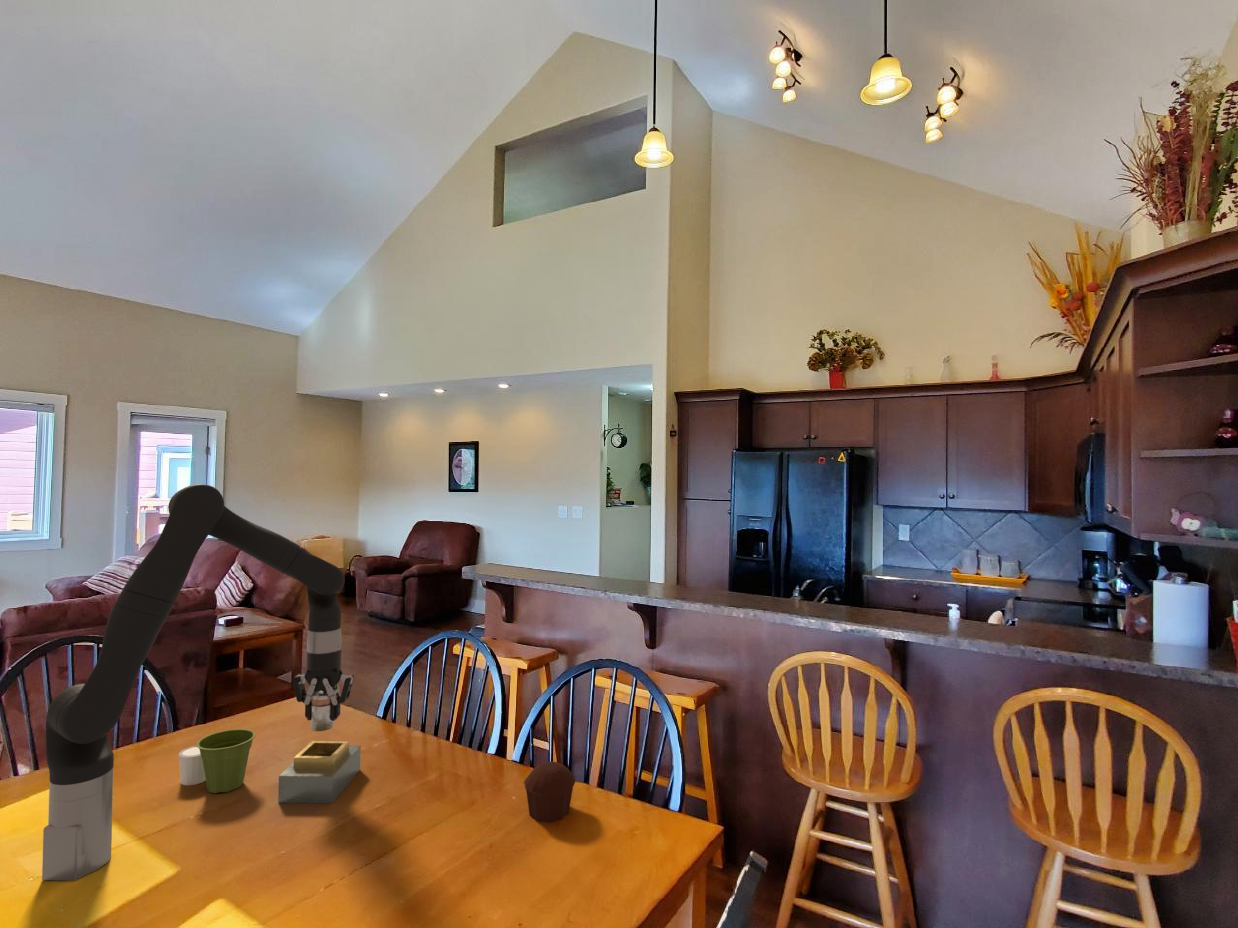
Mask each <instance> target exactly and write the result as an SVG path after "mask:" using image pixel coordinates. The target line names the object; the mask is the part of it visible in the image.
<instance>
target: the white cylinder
mask: <svg viewBox="0 0 1238 928" xmlns="http://www.w3.org/2000/svg"><path fill="white" fill-rule="evenodd" d="M178 760H179V761H178V762H179V763H178V764H179V772H180V773H179V774H180V784H181V785H182V786H194V785H199V784H201V783H204V782H206V778H205V772H204V766H203V760H202V757H201V754H200V749H199V748H198V747H197V745H192V746H190V747H189V746H188V747H186V748H184V749H182V750H180V752H179V753H178Z"/></svg>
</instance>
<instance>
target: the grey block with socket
mask: <svg viewBox="0 0 1238 928" xmlns="http://www.w3.org/2000/svg"><path fill="white" fill-rule="evenodd" d="M361 747H362V746H361V745H352V744H351V745H350V741H343V740H342V741H341V740H339V741H336V740H335V741H334V740H312V741H310V742H309V743H308V744H307V745H306V746H305V747H304V748H302V749H301V750H300V751H299V752H298V753H297V754H296V755H295V756H294V757H293V762H292V763H291V764H290V765H289V766H288V767H287V768H286V769H285V770H283V772H281V773H280V774H279V775H278V790H277V791H278V799H277V800H278V802H277V803H280V804H333V803H334V802H335V800H336V799H337V798H338V796H340V795H341V793H342V792H343V791H344V790H345V789H346V787H347V786H348V785H349V784H350V783H351V781H352V780H353V779H354V778H355V777H356V776H357V774H358V773H359V772H360V770H361V755H362V754H361V750H362V749H361Z"/></svg>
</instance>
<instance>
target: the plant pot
mask: <svg viewBox="0 0 1238 928" xmlns="http://www.w3.org/2000/svg"><path fill="white" fill-rule="evenodd" d="M255 737H256V732H255V731H254V730H252V729H248V728H234V729H227V730H220V731H216V732H213V733H210V734H208V735H205V736H204V737H202V738H200V739H199V740H198V741H196V745H195V746H197V747H198V748H199V749H200V754H201V757H202V760H203V766H204V772H205V778H206V781H205V784H206V788H207V790H206V791H208V792H209V793H212V794H218V793H229V792H232V791H234V790H237V789H238V788H240V787H241V786H242V784H243V783H244V782H245V781H244V780H245V776H246V769H247V765H248V759H249V754H250V749H251V748H252V744H253V740H254V738H255Z"/></svg>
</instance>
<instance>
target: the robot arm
mask: <svg viewBox="0 0 1238 928" xmlns="http://www.w3.org/2000/svg"><path fill="white" fill-rule="evenodd" d="M167 508H168V513H169V515H168V517H167V520H166V522H165V525H164V527H163V529H162V531H161V534H160V535H159V537H158V539H157V541H156V542H155V544H154V546H153V547H152V548H151V549H150V551H149V552H148V553H147V555H146V556H145V557H144V558H143V560H141V562H140V563H139V564H138V565H137V567H136V568H135V570H134V571H133V573H132V574H131V576H130V577H129V579H128V580H127V581H126V583H125V584H124V586H123V588H122V590H121V592H120V593H119V595H118V597H117V598H116V601H115V602H114V604H113V606H112V608H111V610H110V613H109V615H108V617H107V621H106V625H105V630H104V633H103V638H102V639H103V640H102V644H101V649H100V653H99V657H98V659H97V662H96V663H95V666H94V668H93V669H92V671H91V673H90V675H89V676H88V678H87V680H86V681H85V683H78V684H75V685H71V686H68V688H65V689H64V690H62V691H61V692H60V693H58V694H57V695H56V696H55V697H54V699H53V700H52V701H51V703H50V705H49V706H48V708H47V712H46V717H45V718H46V719H45V759H46V764H47V767H48V773H49V778H48V779H49V785H48V786H49V792H48V795H49V796H48V816H47V817H48V823H47V825H45V827H44V828H43V831H42V833H43V835H42V837H43V838H42V870H41V871H42V872H41V880H42V881H78V880H79V878H82V877H83V876H86V875H88V874H91V873H93V872H96V871H97V870H98V869H100V868H102V867H103V866H105V865H106V864H107V863H108V862H110V860H111V858H112V841H113V840H112V839H113V838H112V835H113V801H114V798H113V795H114V769H115V768H114V767H115V766H114V765H115V764H114V763H115V755H114V751H113V749H112V747H111V744H110V741H109V735H108V733H110V732H111V731H112V730H113V728H114V727H115V726H116V724H118V722H119V720H120V718H121V716H122V714H123V712H124V709H125V707H126V703H127V702H128V699H129V697H130V694H131V691H132V688H133V686H134V683H135V681H136V679H137V677H138V674H139V672H140V670H141V667H142V666H143V663H144V661H145V660H146V658H147V656H148V655H149V653H150V650H151V649H152V647H153V645H154V643H155V641H156V639H157V637H158V635H159V633H160V632H161V630H162V628H163V626H164V624H165V623H166V621H167V619H168V617H169V615H170V613H171V611H172V609H173V607H174V606H175V603H176V602H177V599H178V597H179V595H180V593H181V590H182V588H183V586H184V584H185V583H186V580H187V577H188V575H189V572H190V571H191V568H192V564H193V562H194V561H195V558H196V556H197V553H198V552H199V551H200V549H201V547H202V546H203V543H204V542H205V541H206V539H207V538H208V537H209V536H210V537H213V538H216V539H217V540H220V541H222V542H224V543H226V544H229V545H230V546H233V547H234V548H237V549H238V550H240V551H242V552H244V553H245V554H247V555H249V556H251V557H252V558H254V559H256V560H257V561H259V562H261V563H262V564H265V565H267V566H268V567H269V568H272V569H273V570H276V571H277V572H279V573H281V574H283V575H286V576H288V577H291V578H293V579H294V580H296V581H298V582H299V583H301V584H302V585H304V586H306V593H307V600H308V627H307V638H306V661H305V662H306V664H305V665H306V666H305V667H306V672H305V673H304V674H301V673H298V674H297V675H295V676H294V677H292V683H293V689H294V693H295V698H296V702H298V703H303V704H304V716H305V718H306V721H311V698H312V695H313V694H315V693H316V692H319V691H324V692H327V693H328V696H329V697H330V698H331V701H332V704H333V705H332V706H331V721H334V722H335V721H336V720H337V719H338V718H339V717H340V716H341V704H343V703H346V701H348V699H349V698H350V695H351V691H352V688H353V683H354V680H355V676H354V675H353V674H350V675H347V674H343V672H342V669H341V668H342V647H343V642H342V641H343V639H342V636H343V635H342V627H341V626H342V610H341V605H340V603H339V600H338V592H340V591H341V590H342V588H344V585H345V581H346V580H345V579H346V578H345V577H346V576H345V574H344V572H343V570H342V569H340V568H339V567H338V566H336V565H335V564H333V563H330V562H328V561H326V560H324V559H323V558H320V557H318V556H317V555H314V554H312V553H311V552H310V551H308V550H307V549H305V548H304V547H303V546H301V545H300V544H297V543H296V542H294V541H292V540H290V539H289V538H287V537H285V536H283V535H281V534H280V533H276V532H274V531H272V530H270V529H268V528H265V527H262V525H261V526H260V525H258V524H256V523H254V522H252V521H250V520H247V519H246V518H244V517H242V516H240V515H239V514H236V513H235V512H233V510H230V509H229V508H228V507H227V506H225V500H224V497H223V495H222V494H221V492H220V490H218V488H216V487H214V486H212V485H209V484H204V483H196V484H191V485H188V486H185V487H184V488H183V487H182V489H180V490H177V492H175V493H174V494H173V496H172V497H170V500H169V502H168V507H167ZM340 681H341V685H342V691H341V690H340V687H339V682H340ZM306 682H307V684H308V685H309V687H308V690H307V691H306V685H305V683H306ZM340 691H341V693H340Z"/></svg>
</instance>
